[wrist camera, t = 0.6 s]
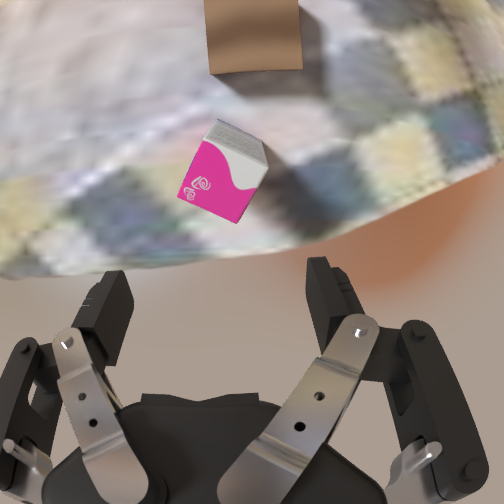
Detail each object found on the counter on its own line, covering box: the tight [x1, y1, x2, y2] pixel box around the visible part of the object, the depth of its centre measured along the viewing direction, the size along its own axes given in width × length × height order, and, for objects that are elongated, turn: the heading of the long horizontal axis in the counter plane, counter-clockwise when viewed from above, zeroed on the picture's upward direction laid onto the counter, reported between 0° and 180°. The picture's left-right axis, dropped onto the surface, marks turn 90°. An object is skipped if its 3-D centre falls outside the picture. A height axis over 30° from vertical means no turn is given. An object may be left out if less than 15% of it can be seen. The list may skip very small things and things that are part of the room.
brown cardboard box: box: [204, 0, 303, 75], centre depth 24 cm, size 9×9×4 cm
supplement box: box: [177, 119, 269, 224], centre depth 28 cm, size 6×6×12 cm
